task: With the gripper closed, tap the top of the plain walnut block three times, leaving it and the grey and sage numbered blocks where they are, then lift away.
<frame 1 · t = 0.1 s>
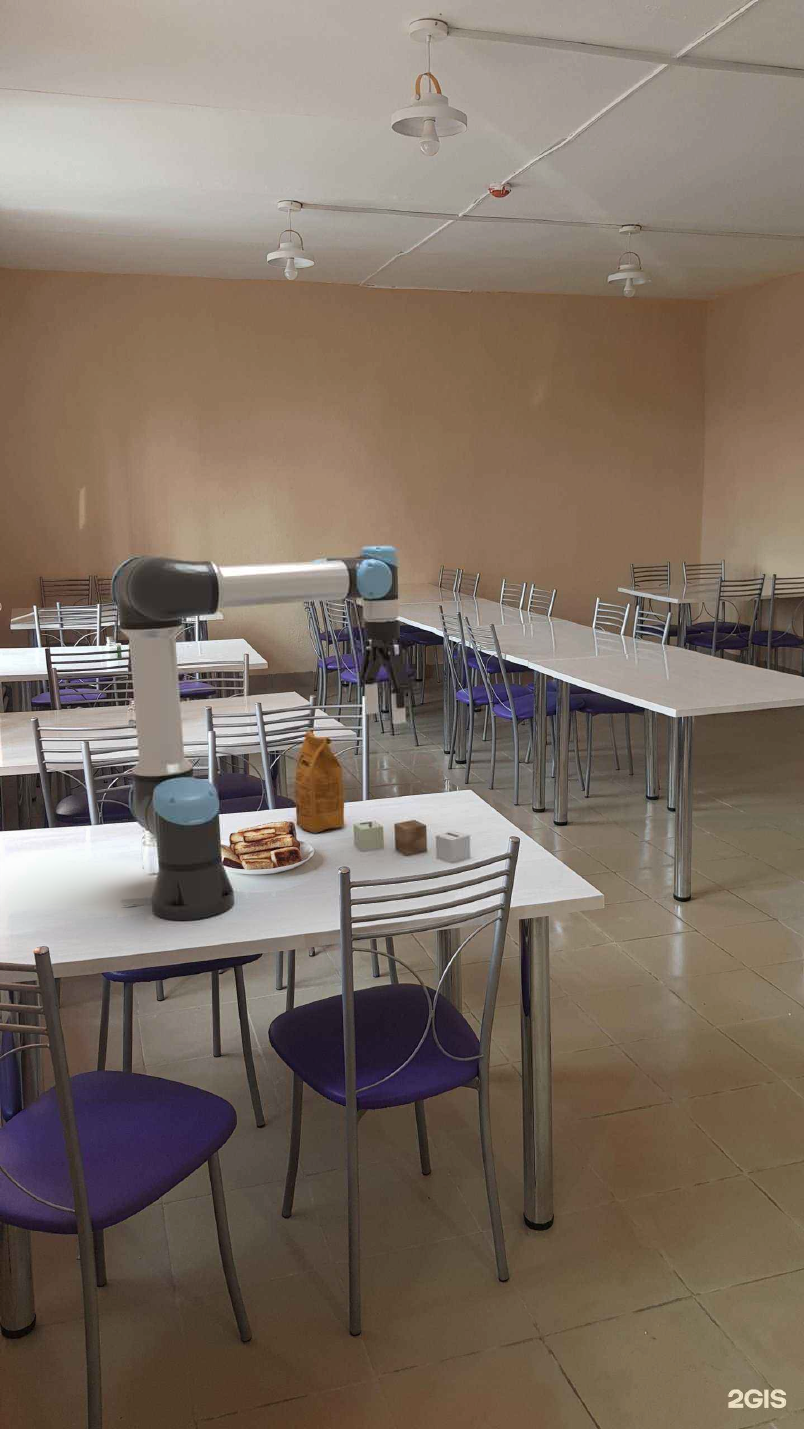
hand: (385, 718, 228), 28 cm above the table, fingers open, 13 cm apart
plain walnut block: (411, 851, 227), on the table
grey numbered block: (453, 858, 222), on the table
sage numbered block: (369, 847, 231), on the table
coffee package: (319, 826, 248), on the table
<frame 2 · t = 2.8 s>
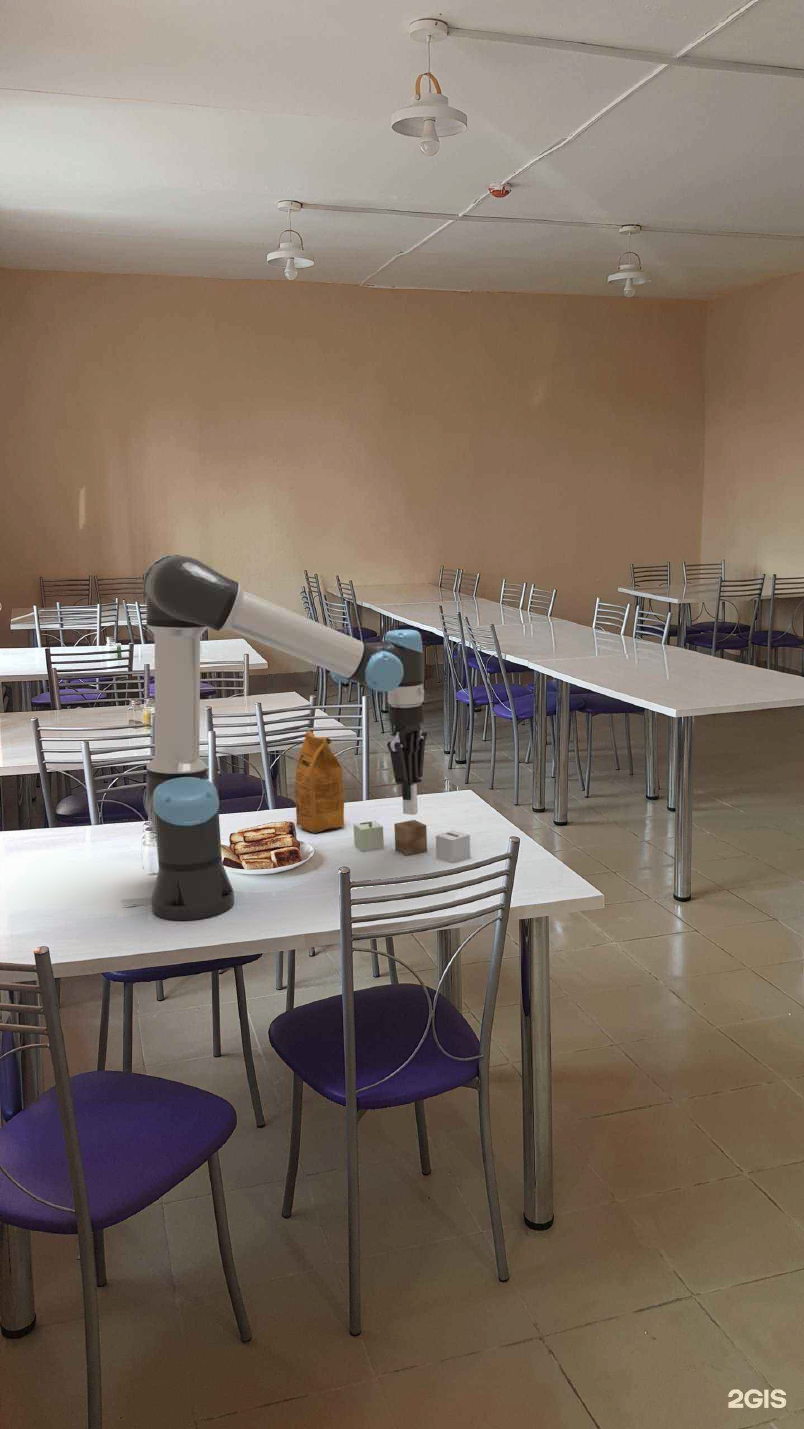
hand: (410, 813, 225), 8 cm above the table, fingers closed
nothing on the table moved.
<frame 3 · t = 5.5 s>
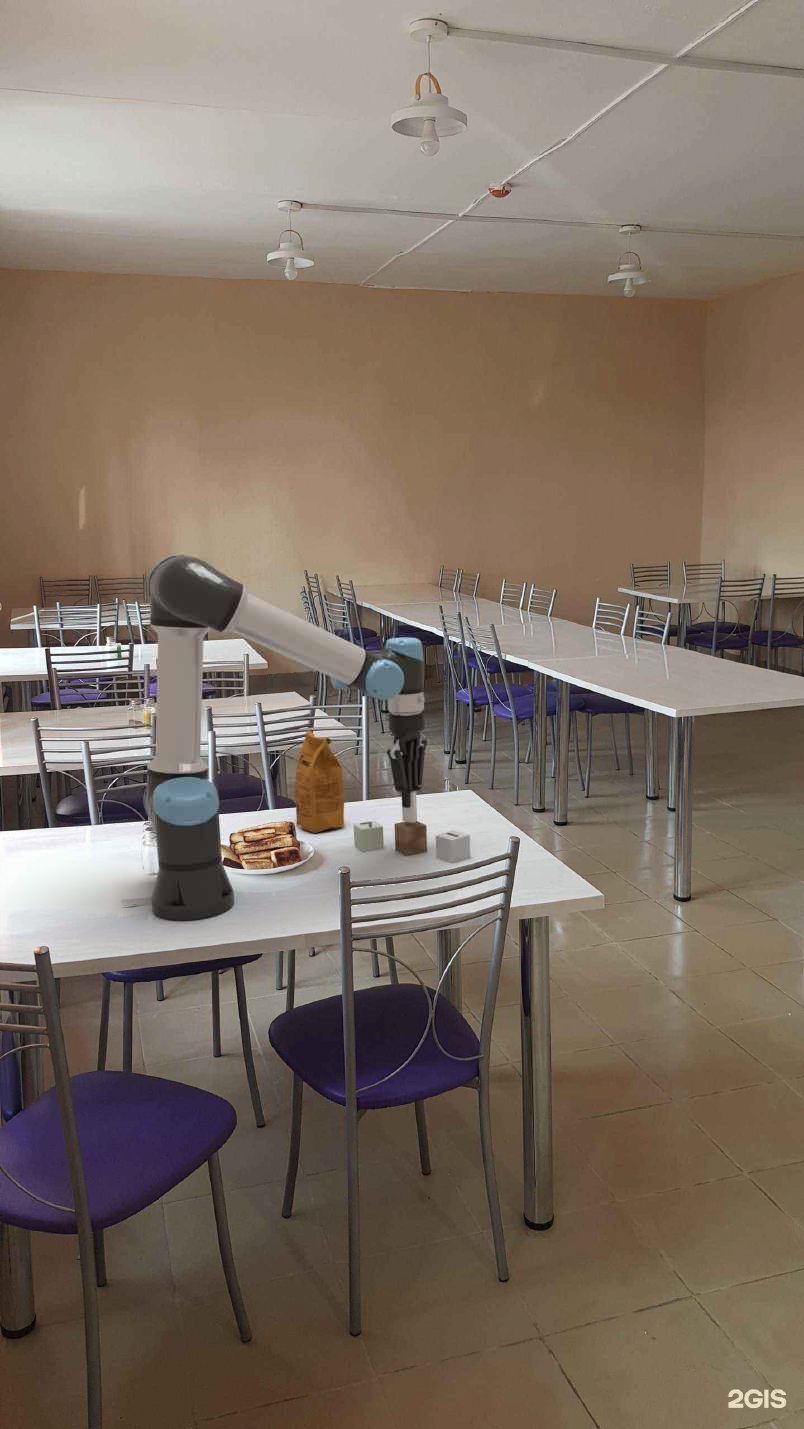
hand: (409, 820, 226), 7 cm above the table, fingers closed
nothing on the table moved.
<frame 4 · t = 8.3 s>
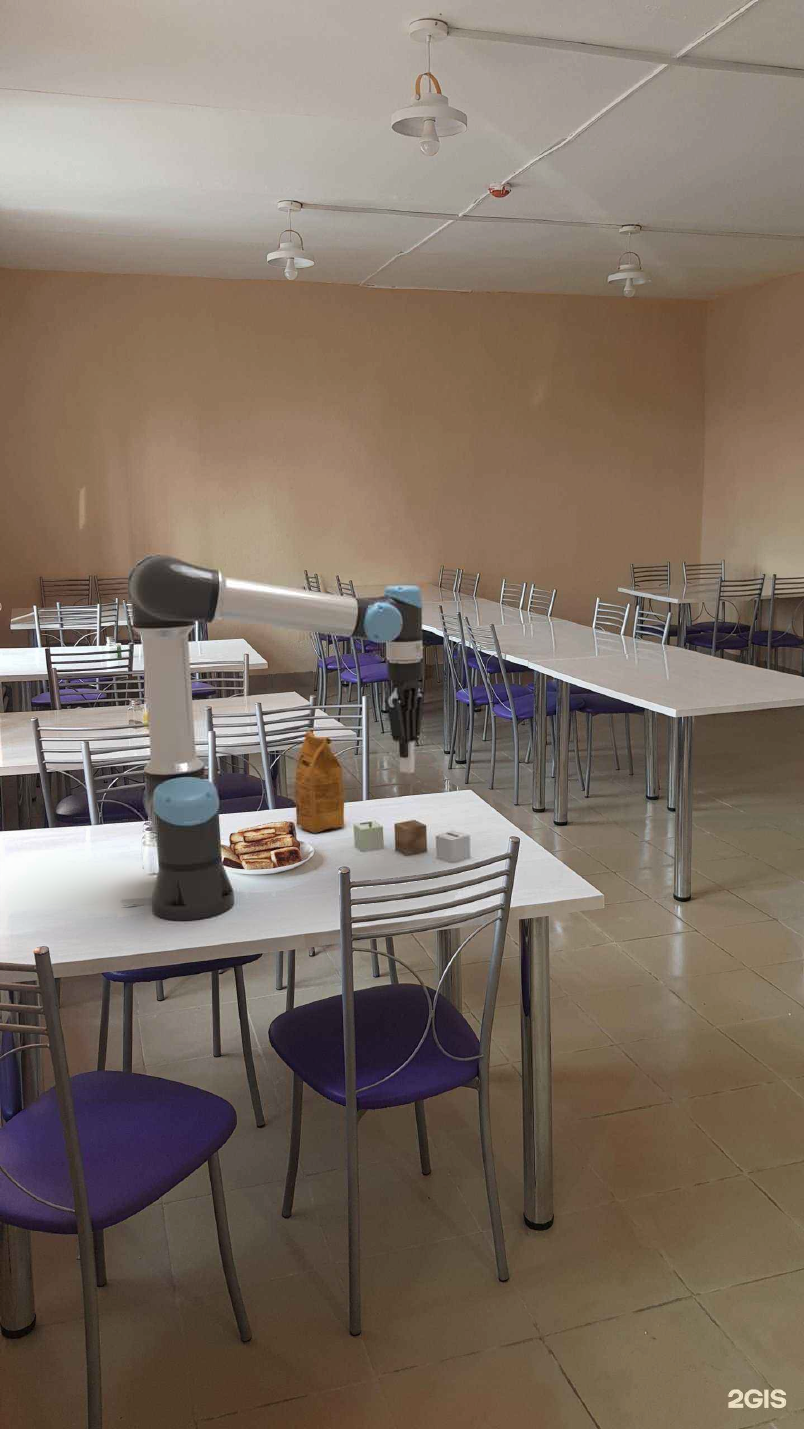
hand: (407, 771, 224), 18 cm above the table, fingers closed
nothing on the table moved.
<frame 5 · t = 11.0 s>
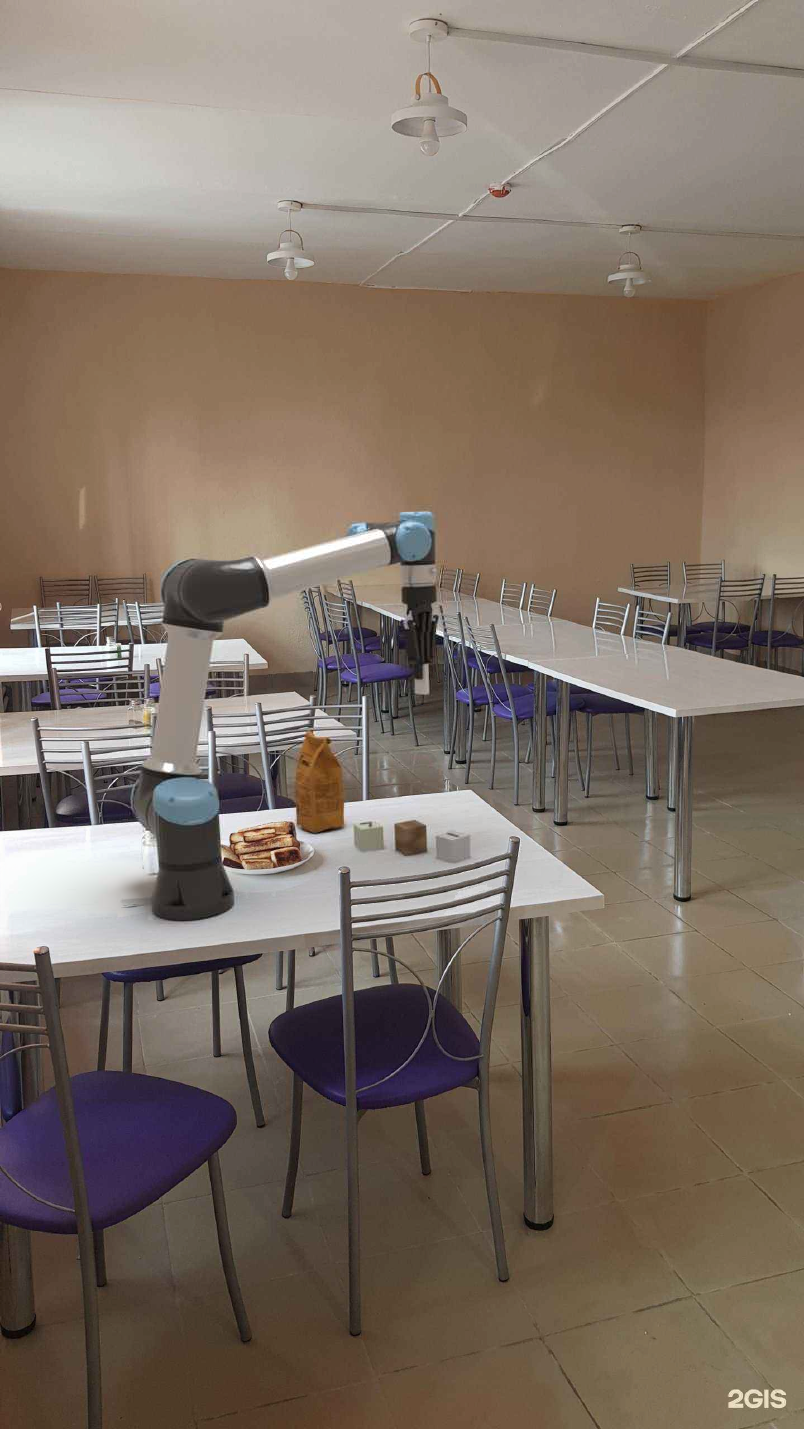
hand: (422, 693, 231), 32 cm above the table, fingers closed
nothing on the table moved.
at the end: plain walnut block moved 0.1 cm from its start; grey numbered block moved 0.1 cm from its start; sage numbered block moved 0.1 cm from its start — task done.
